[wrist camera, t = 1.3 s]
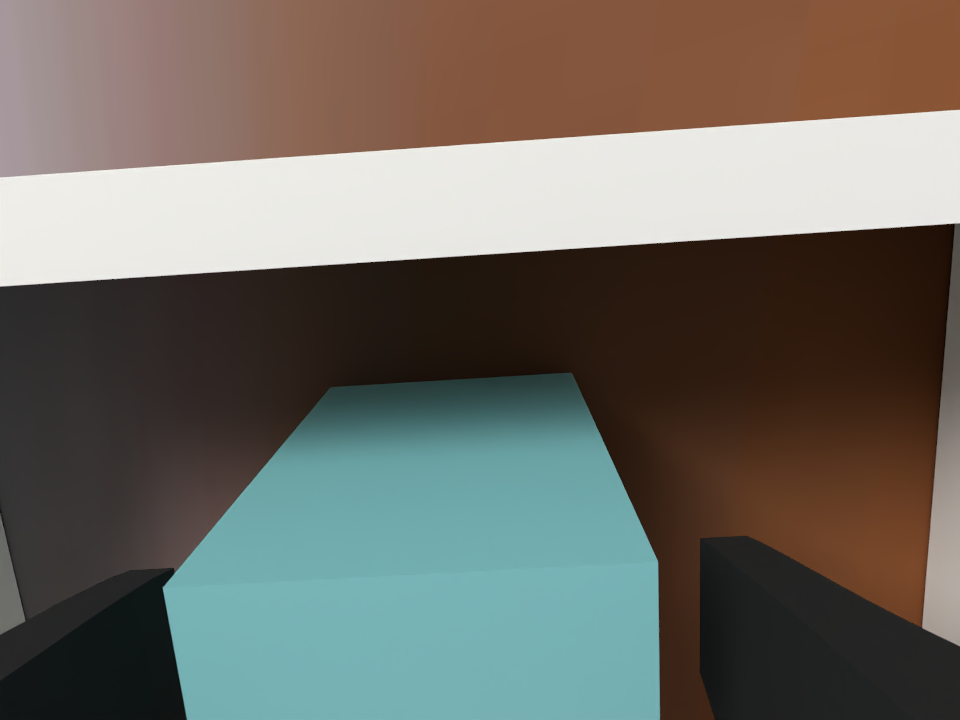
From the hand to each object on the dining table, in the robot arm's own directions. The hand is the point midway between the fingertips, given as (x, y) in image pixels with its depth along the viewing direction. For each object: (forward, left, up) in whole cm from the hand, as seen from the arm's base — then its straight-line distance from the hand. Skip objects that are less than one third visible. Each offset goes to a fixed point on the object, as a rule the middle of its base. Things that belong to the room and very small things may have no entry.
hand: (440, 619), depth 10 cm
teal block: (0, 0, -4) cm, 4 cm away
